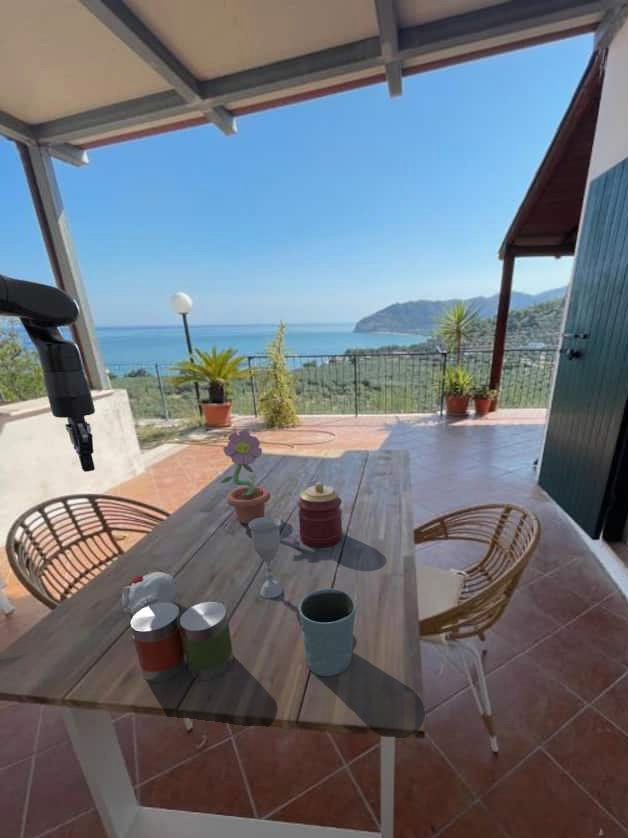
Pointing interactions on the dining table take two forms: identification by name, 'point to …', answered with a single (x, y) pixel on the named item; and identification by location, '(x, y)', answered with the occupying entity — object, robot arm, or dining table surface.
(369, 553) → the dining table surface
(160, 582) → the grey rounded lumpy piece
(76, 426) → the robot arm
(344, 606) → the light blue cup
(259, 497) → the decorative flower
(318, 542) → the kitchen canister
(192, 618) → the tin cans
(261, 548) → the chalice
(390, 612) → the dining table surface
